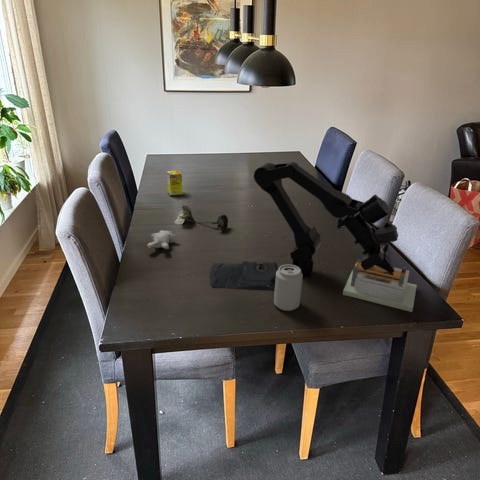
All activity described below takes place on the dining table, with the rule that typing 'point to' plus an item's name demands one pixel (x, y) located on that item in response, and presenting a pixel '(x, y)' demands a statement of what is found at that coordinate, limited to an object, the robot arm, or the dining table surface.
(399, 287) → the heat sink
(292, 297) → the can
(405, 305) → the board
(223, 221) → the artificial flower
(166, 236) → the bunny figurine
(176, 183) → the supplement box
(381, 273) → the strap
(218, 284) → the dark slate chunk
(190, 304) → the dining table surface
